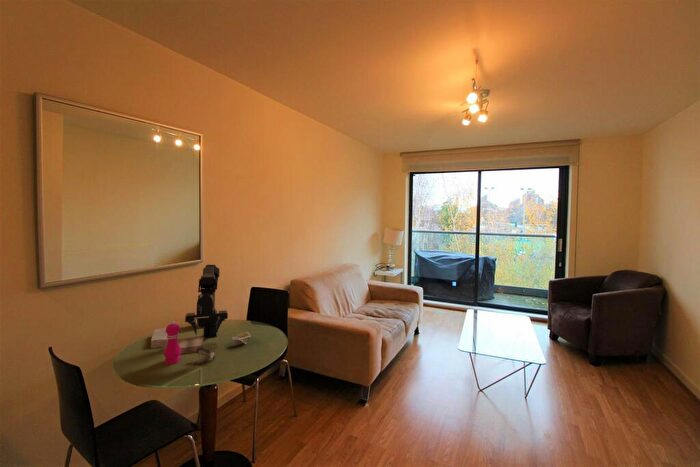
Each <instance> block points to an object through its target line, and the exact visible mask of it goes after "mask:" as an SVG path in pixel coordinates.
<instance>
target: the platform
mask: <svg viewBox="0 0 700 467" xmlns="http://www.w3.org/2000/svg"><path fill="white" fill-rule="evenodd" d="M249 338H251V333H249V332H248V331H245V332H243V333H242V332H241V333H237V335H236V336H232V339H233V340H234V346H238V345H241V344H242V345H243V344H245V345H247V344H248V343H249Z"/></svg>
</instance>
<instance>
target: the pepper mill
mask: <svg viewBox="0 0 700 467" xmlns="http://www.w3.org/2000/svg"><path fill="white" fill-rule="evenodd" d="M165 328H166V333H167V338H168V343H167V346H166V347H164V348H165V349H164V351H163V357H164V363H165V364H166V365H173V364H174V365H175V364H178V363H179V362H180V361H181V357H180V355H181V348H180V346H179V344H178V340H179V335H180V333H179V332H180V330H181V327H180V325H179V324H178V323H176V321H175V320H172V321H170V324H167V326H166V327H165Z"/></svg>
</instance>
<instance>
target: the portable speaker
mask: <svg viewBox="0 0 700 467" xmlns="http://www.w3.org/2000/svg"><path fill="white" fill-rule="evenodd" d="M200 297H201V294H198V296H197V300H196V313H195V315H200V314H201V311H198V304H199V299H200ZM202 319H203V318H200V319H196V321H197V322H196V325H197V326H198V327H199V328H204V327H203V326H202Z"/></svg>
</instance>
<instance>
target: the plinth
mask: <svg viewBox="0 0 700 467" xmlns="http://www.w3.org/2000/svg"><path fill="white" fill-rule="evenodd" d="M178 344H179V346H180V348H181V354H189V353H197V352H196V350H197V349H198V348H204V336H197V337H196V336H195V337H187V338H186V337H185V338H178ZM181 354H180V355H181Z"/></svg>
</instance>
